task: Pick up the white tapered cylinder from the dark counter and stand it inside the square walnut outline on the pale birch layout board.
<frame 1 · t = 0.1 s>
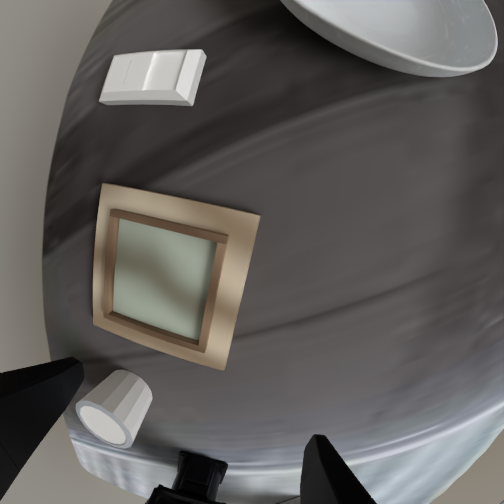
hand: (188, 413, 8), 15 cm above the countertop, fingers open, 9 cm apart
serving bowl: (373, 9, 16), on the countertop
white tapered cylinder: (131, 388, 27), on the countertop
layout board: (163, 277, 23), on the countertop
soap bar: (155, 82, 20), on the countertop
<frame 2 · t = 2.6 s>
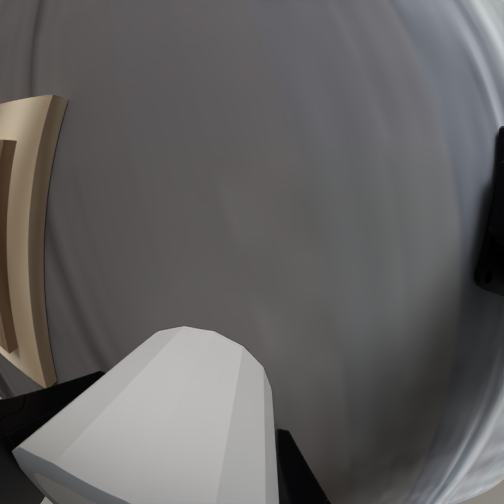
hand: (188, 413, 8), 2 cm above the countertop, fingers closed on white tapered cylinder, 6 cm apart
white tapered cylinder: (200, 385, 10), on the countertop, touching gripper
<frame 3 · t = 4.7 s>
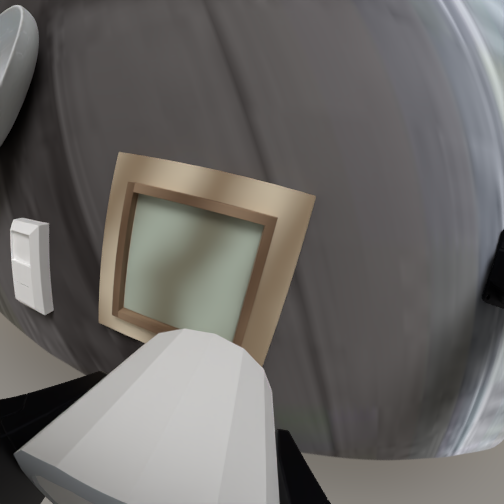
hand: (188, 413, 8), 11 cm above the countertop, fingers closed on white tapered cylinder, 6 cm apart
serving bowl: (9, 95, 19), on the countertop
white tapered cylinder: (200, 387, 10), point 10 cm above the countertop, touching gripper
layout board: (188, 267, 19), on the countertop
soap bar: (39, 262, 22), on the countertop
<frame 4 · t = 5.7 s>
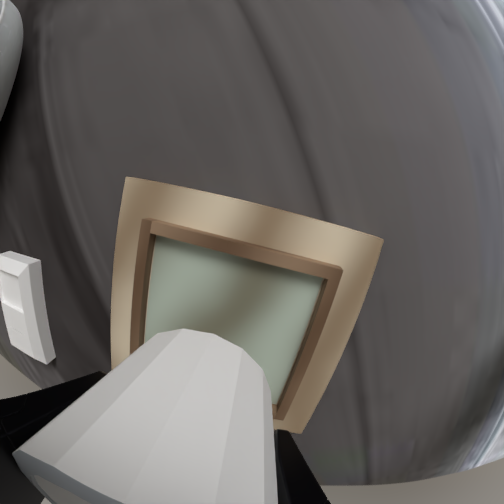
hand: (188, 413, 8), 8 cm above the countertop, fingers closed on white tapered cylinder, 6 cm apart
white tapered cylinder: (199, 387, 10), point 6 cm above the countertop, touching gripper
layout board: (224, 322, 16), on the countertop
soap bar: (34, 303, 18), on the countertop
when the fingers open (4 cm above the countertop, at t = 6.8 s): white tapered cylinder drops 1 cm, resting on layout board.
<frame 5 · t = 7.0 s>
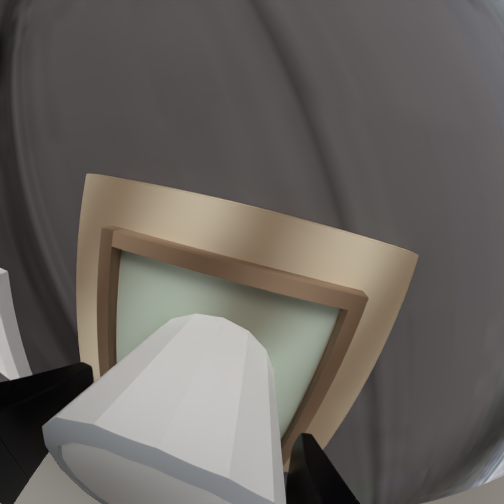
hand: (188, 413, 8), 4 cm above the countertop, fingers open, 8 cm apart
white tapered cylinder: (208, 368, 11), point 1 cm above the countertop, touching layout board
layout board: (211, 356, 12), on the countertop
soap bar: (7, 317, 15), on the countertop
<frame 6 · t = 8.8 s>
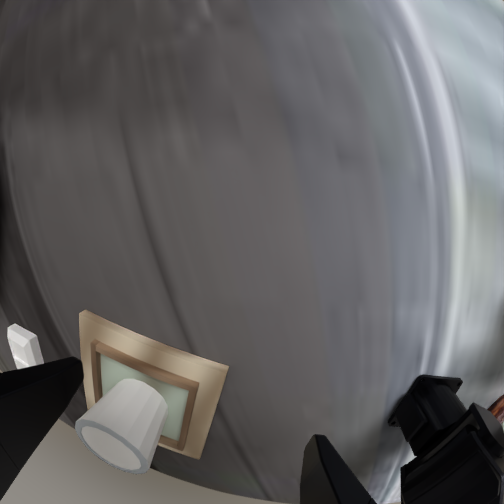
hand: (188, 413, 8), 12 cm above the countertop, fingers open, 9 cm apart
pastry: (493, 412, 21), on the countertop
white tapered cylinder: (142, 400, 22), point 1 cm above the countertop, touching layout board
layout board: (144, 393, 23), on the countertop
soap bar: (35, 356, 25), on the countertop
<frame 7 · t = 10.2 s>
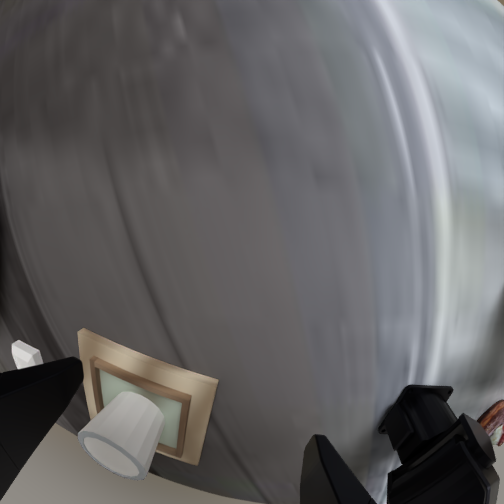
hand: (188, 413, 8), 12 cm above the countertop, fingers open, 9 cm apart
pastry: (486, 419, 21), on the countertop
white tapered cylinder: (140, 411, 23), point 1 cm above the countertop, touching layout board
layout board: (142, 405, 24), on the countertop
soap bar: (40, 370, 26), on the countertop
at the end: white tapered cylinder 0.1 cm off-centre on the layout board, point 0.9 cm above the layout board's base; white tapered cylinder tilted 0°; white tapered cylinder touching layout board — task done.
